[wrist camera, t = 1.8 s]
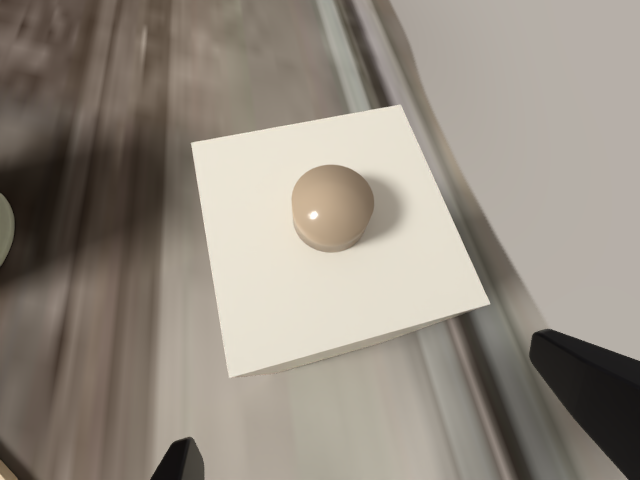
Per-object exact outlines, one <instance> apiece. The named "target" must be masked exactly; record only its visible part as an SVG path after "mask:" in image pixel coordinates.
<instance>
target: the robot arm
mask: <svg viewBox="0 0 640 480" xmlns="http://www.w3.org/2000/svg"><path fill="white" fill-rule="evenodd" d="M529 357H530V360H531V362H532V364H533V366H534V367H535V368H536V370H537V371H538V372H539V373H540V375H541V376H542V377H543V379H544V380H545V381H546V383H547V384H548V385H549V387H550V388H551V389H552V391H553V392H554V393H555V395H556V396H557V397H558V399H559V400H560V401H561V403H562V404H563V405H564V407H565V408H566V409H567V410H568V412H569V413H570V414H571V415H572V417H573V418H574V419H575V420H576V421H577V423H578V424H579V425H580V426H581V427H582V428H583V429H584V430H585V432H586V433H587V434H588V435H589V436H590V437H591V438H592V439H593V441H594V442H595V443H596V444H597V445H598V446H599V447H600V448H601V449H602V451H603V452H604V453H605V454H606V455H607V456H608V457H609V458H610V460H611V461H612V462H613V463H614V464H615V465H616V466H617V467H618V468H619V470H620V471H621V472H622V473H623V474H624V475H625V476H626V477H627V479H628V480H640V361H638V360H635V359H632V358H630V357H627V356H624V355H621V354H618V353H616V352H613V351H610V350H607V349H605V348H602V347H599V346H596V345H594V344H591V343H588V342H585V341H582V340H579V339H577V338H574V337H571V336H568V335H565V334H563V333H560V332H557V331H555V330H552V329H544V330H541V331H538V332H535V333H534V334H533V335H532V340H531V346H530V353H529ZM150 480H204V462H203V458H202V456H201V454H200V452H199V449H198V447H197V445H196V443H195V441H194V439H193V438H192V437H187V438H184V439H180V440H177V441H175V442H173V443H172V444H171V446H170V447H169V449H168V451H167V452H166V454H165V456H164V457H163V459H162V461H161V462H160V464H159V466H158V467H157V469H156V471H155V472H154V474H153V476H152V477H151V479H150Z"/></svg>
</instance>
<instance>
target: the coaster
mask: <svg viewBox="0 0 640 480" xmlns="http://www.w3.org/2000/svg"><path fill="white" fill-rule="evenodd" d="M0 480H18V478H17V477H16V476H15V475H14V474H13V473H12V472H11V471H10V470H9V469H8V467H7V466H6V465H5V464H4V463H3V462H2V461H1V460H0Z"/></svg>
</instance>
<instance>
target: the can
mask: <svg viewBox="0 0 640 480" xmlns="http://www.w3.org/2000/svg"><path fill="white" fill-rule="evenodd" d="M14 231H15V221H14V215H13V211H12V208H11V206H10V204H9V203H8V201H7V200H6V198H5V197H4V196H3V195H2V194H1V193H0V266H1V265H2V263H3V262H4V260H5V258H6V256H7V254H8V252H9V250H10V247H11V245H12V241H13V237H14Z"/></svg>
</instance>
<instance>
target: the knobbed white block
mask: <svg viewBox="0 0 640 480" xmlns="http://www.w3.org/2000/svg"><path fill="white" fill-rule="evenodd" d="M191 145H192V152H193V158H194V164H195V170H196V176H197V183H198V189H199V195H200V201H201V207H202V214H203V220H204V226H205V232H206V238H207V245H208V251H209V257H210V263H211V269H212V276H213V282H214V288H215V294H216V300H217V307H218V313H219V319H220V325H221V331H222V338H223V344H224V350H225V356H226V363H227V369H228V375H229V378H236V377H247V376H258V375H268V374H275V373H278V372H282V371H285V370H289V369H292V368H296V367H299V366H303V365H306V364H310V363H313V362H317V361H320V360H324V359H327V358H331V357H334V356H338V355H341V354H345V353H348V352H352V351H355V350H359V349H362V348H366V347H369V346H372V345H376V344H379V343H383V342H386V341H388V340H391V339H394V338H397V337H400V336H402V335H405V334H408V333H411V332H414V331H416V330H419V329H422V328H425V327H428V326H430V325H433V324H436V323H439V322H442V321H444V320H447V319H450V318H453V317H456V316H458V315H461V314H464V313H467V312H469V311H472V310H475V309H478V308H481V307H483V306H486V305H489V304H490V302H489V300H488V297H487V295H486V293H485V291H484V289H483V286H482V284H481V282H480V280H479V277H478V275H477V273H476V271H475V269H474V266H473V264H472V262H471V260H470V257H469V255H468V253H467V251H466V249H465V246H464V244H463V242H462V240H461V237H460V235H459V233H458V231H457V229H456V226H455V224H454V222H453V220H452V217H451V215H450V213H449V211H448V209H447V206H446V204H445V202H444V200H443V198H442V195H441V193H440V191H439V189H438V186H437V184H436V182H435V180H434V178H433V175H432V173H431V171H430V169H429V166H428V164H427V162H426V160H425V158H424V155H423V153H422V151H421V149H420V146H419V144H418V142H417V140H416V138H415V135H414V133H413V131H412V129H411V126H410V124H409V122H408V120H407V118H406V115H405V113H404V111H403V109H402V107H401V105H396V106H391V107H385V108H380V109H374V110H369V111H363V112H358V113H352V114H347V115H341V116H336V117H330V118H325V119H319V120H314V121H308V122H303V123H297V124H292V125H286V126H281V127H275V128H270V129H264V130H259V131H253V132H248V133H242V134H237V135H231V136H226V137H220V138H215V139H209V140H204V141H198V142H193V143H191Z"/></svg>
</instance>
